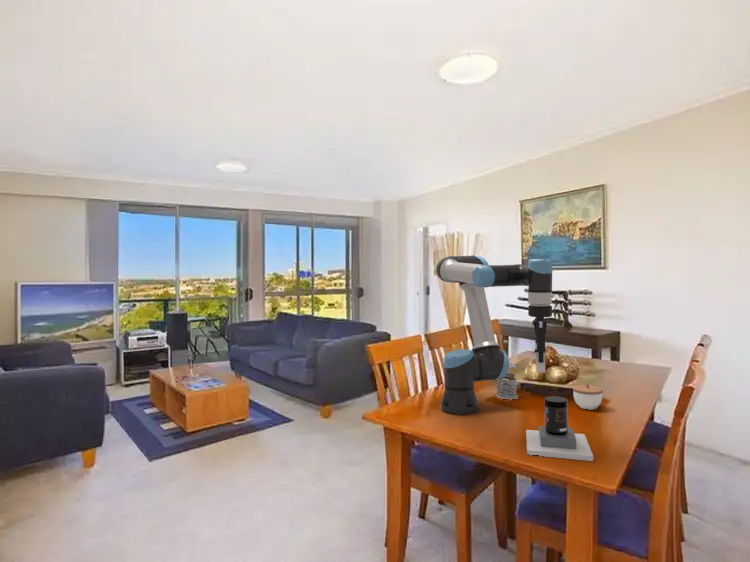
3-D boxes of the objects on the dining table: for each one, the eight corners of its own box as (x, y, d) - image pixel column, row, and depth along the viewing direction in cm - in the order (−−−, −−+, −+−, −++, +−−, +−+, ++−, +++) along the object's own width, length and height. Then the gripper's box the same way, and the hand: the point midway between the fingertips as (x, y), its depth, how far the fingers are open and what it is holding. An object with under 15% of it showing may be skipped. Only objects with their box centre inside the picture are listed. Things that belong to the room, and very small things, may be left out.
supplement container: (556, 427, 145) (555, 395, 145) (573, 433, 139) (572, 400, 138) (540, 430, 142) (539, 397, 142) (556, 437, 136) (555, 403, 136)
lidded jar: (606, 412, 173) (606, 387, 172) (576, 411, 175) (576, 387, 175) (598, 404, 183) (598, 381, 183) (570, 403, 185) (570, 380, 185)
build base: (527, 455, 135) (527, 440, 135) (526, 434, 152) (525, 420, 152) (593, 461, 129) (593, 445, 129) (584, 438, 146) (584, 424, 146)
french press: (518, 400, 191) (517, 342, 190) (490, 399, 194) (488, 341, 194) (518, 394, 200) (517, 338, 199) (492, 393, 204) (490, 338, 203)
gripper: (554, 309, 138) (554, 377, 139) (549, 301, 162) (549, 359, 163) (528, 308, 140) (528, 375, 141) (527, 301, 164) (528, 358, 165)
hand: (540, 367), depth 152 cm, fingers open, 13 cm apart
